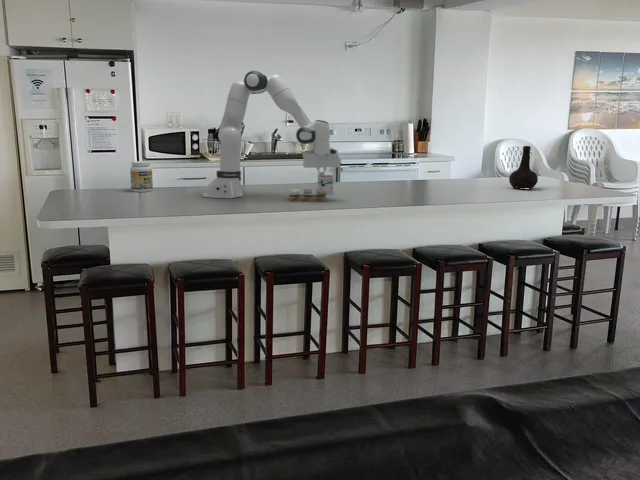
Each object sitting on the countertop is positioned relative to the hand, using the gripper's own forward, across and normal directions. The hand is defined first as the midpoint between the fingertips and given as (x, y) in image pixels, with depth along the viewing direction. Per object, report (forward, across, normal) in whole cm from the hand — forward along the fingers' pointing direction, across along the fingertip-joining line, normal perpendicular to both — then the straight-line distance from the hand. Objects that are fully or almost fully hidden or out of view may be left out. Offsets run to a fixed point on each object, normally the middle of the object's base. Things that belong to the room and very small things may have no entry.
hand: (321, 175), depth 331 cm
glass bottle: (+17, +138, +48) cm, 146 cm away
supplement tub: (+12, -102, +28) cm, 107 cm away
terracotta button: (+10, -1, 0) cm, 10 cm away
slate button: (+10, -8, 0) cm, 12 cm away
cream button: (+9, -15, 0) cm, 17 cm away
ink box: (+14, +4, +22) cm, 26 cm away
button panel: (+13, -8, 0) cm, 15 cm away
